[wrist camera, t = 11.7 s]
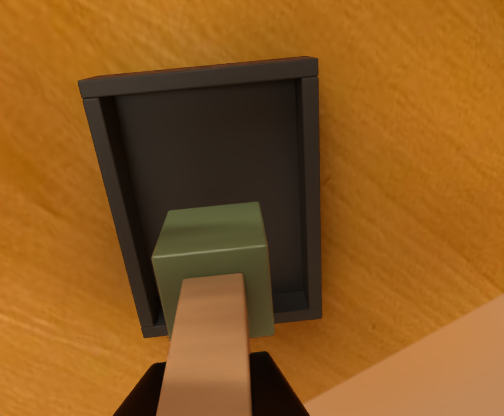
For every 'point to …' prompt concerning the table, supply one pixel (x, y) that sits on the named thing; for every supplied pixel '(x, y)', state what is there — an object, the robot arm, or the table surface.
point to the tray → (214, 165)
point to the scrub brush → (212, 306)
